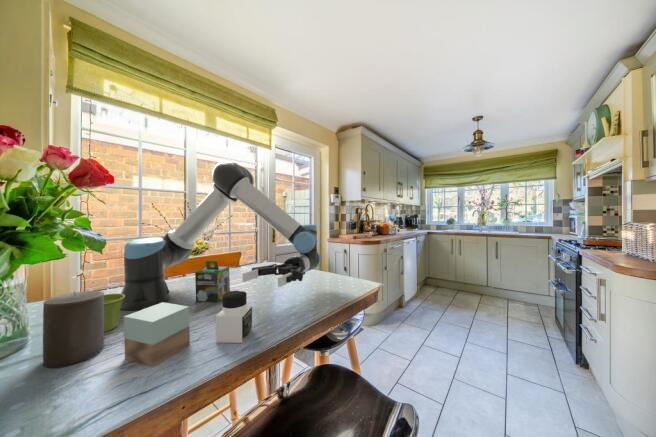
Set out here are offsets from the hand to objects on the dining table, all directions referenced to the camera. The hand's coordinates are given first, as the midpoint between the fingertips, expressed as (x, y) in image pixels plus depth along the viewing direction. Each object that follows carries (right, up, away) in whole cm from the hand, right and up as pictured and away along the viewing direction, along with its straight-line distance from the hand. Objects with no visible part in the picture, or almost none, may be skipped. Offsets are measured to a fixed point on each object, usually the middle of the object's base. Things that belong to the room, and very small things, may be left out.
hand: (260, 280), depth 72 cm
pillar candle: (-38, -13, -17) cm, 44 cm away
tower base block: (-20, -13, -16) cm, 29 cm away
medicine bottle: (-4, -13, -9) cm, 16 cm away
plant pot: (-43, -13, -5) cm, 45 cm away
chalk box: (-24, -12, +20) cm, 34 cm away
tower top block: (-20, -8, -16) cm, 27 cm away
